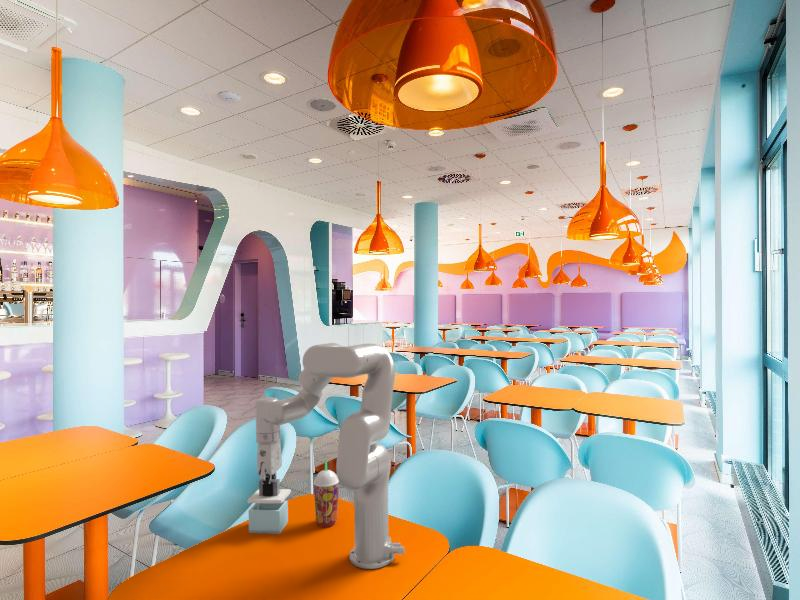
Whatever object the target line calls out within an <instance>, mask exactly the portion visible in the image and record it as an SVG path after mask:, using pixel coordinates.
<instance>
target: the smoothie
mask: <svg viewBox="0 0 800 600" xmlns="http://www.w3.org/2000/svg"><path fill="white" fill-rule="evenodd" d="M312 483H313V494H314V495H313V496H314V507H315V508H314V509H315V510H314V511H315V521H316V522H317V525H318V526H319V527H322V528H329V527H332V526H334V525H335V524H336V521H337V520H338V509H339V490H340V489H339V486H340V485H339V484H340V482H339V480H338V477H337V473H335V472H334V471H332V470H331V469H328V461H325V462H324V469H323V470H321V471H320V472H318V473H317V475H316V476H315V478H314V481H313V482H312Z"/></svg>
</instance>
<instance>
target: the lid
mask: <svg viewBox="0 0 800 600" xmlns="http://www.w3.org/2000/svg"><path fill="white" fill-rule="evenodd" d="M280 482H281V481H280V478H276V479H272V483H273V495H272V496H263V484H262V481H261V480H260V479H259V481H258V489H257V490H256V491H255V492H254V493H253V494H252V495H251V496H249V497H248V499H247V504H255V503H282V502H283V501H286V499H287V497H289V495H290V494H291V492H292V489H290V488H289V489H288V488H282V489H281V487H280Z"/></svg>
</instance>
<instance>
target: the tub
mask: <svg viewBox="0 0 800 600" xmlns="http://www.w3.org/2000/svg"><path fill="white" fill-rule="evenodd" d="M288 505H289V501H288V500H284V501H283V502H282V503H253V506H252V507H250V509H248V533H249V534H274V535H275V534H277V535H279V534H281V533H282V531H283V530H284V528H285V527H286V525H287V524H288V523H289V506H288Z"/></svg>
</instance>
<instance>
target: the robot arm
mask: <svg viewBox="0 0 800 600" xmlns="http://www.w3.org/2000/svg"><path fill="white" fill-rule="evenodd" d="M302 366H303V367H302V368H303V369H302V371H301V372H300V373H299V376H298V381H299V385H300V386H301V387H302V389H301V390H300V391H299V392H298V393H297V394H296V395H294V396H290V397H286V398H283V399H279V398H278V397H275V396H274V397H273V396H272V397H271V396H269V397H262V398H261V397H260V398H258V399H257V400H256V401H255V440H256V442H255V443H256V444H257V454H256V455H257V457H256V467H257V468H256V469H257V475H258V476H259V481H260V480H261V481H262V484H263V496H272V495H273V483H272V479H277V472H278V471H279V470H280V469H281V467H282V466H283V460H282V458H283V457H282V445H281V425H285V424H289V423H292V422H295V421H297V420H301V419H303V418H305V417H306V416H308V414H310V413H311V412H312V411H313V410H314V409H315V408H316V407H317V405H318V404H319V403H320V401H321V399H322V398H321V397H322V394H323V390H324V389H325V388H326V387H327V386H328V384H329V383H330V382H331V381H332V380H333V379H334V378H340V379H341V378H342V379H349V378H351V379H352V378H356V377H359V376H363V375H367V378H366V381H365V383H364V385H363V389H362V394H361V403H360V404H361V405H360V408H359V410H358V411H356V412H353V413H351V414H349V415H347V417H346V418H345V419H344V420H343V422H342V424H341V426H340V429H339V433H338V444H337V454H336V455H337V456H336V465H335V467H336V468H335V469H336V476H337V478H338V480H339V484H340V485H341V486H342V487H343V488H345V489H346V490H348V491H354V496H353V497H354V503H353V504H354V506H353V507H354V510H353V511H354V547H353V548H352V549H351V550H350V552H349V561H350V562H351V564H352V565H354V566H356V567H358V568H360V569H365V570H367V569H368V570H373V569H380V568H383V567H386V566H387V565H389V564H391V563H392V562H393V561H394V558H395V554H397V555H404V554H405V546H402V544H401V542H393V541H392V537H391V536H389V482H390V481H389V480H390V474H391V468H392V467H391V465H392V463H391V462H392V461H391V460H392V459H391V455H390V453H389V450H388V449H387V448H386V447H385V446H384V445H383V444H381V443H378V442H380V441H381V440H383V439H384V438H386V437H387V435H388V434H389V431H390V426H391V415H392V405H393V404H392V403H393V392H394V385H395V378H396V377H395V376H396V366H395V361H394V359H393V357H392V355H391V353H390V352H389V351H388V350H387V349H386V348H385V347H383V346H381V345H380V344H376V343H361V344H360V343H359V344H356V345H355V344H354V345H347V346H342V345H341V344H340V343H335V342H333V343H332V342H328V343H322V344H320V343H319V344H314V345H312V346H310V347H308V348H307V349H306V351H305V352H304V354H303V357H302Z"/></svg>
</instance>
